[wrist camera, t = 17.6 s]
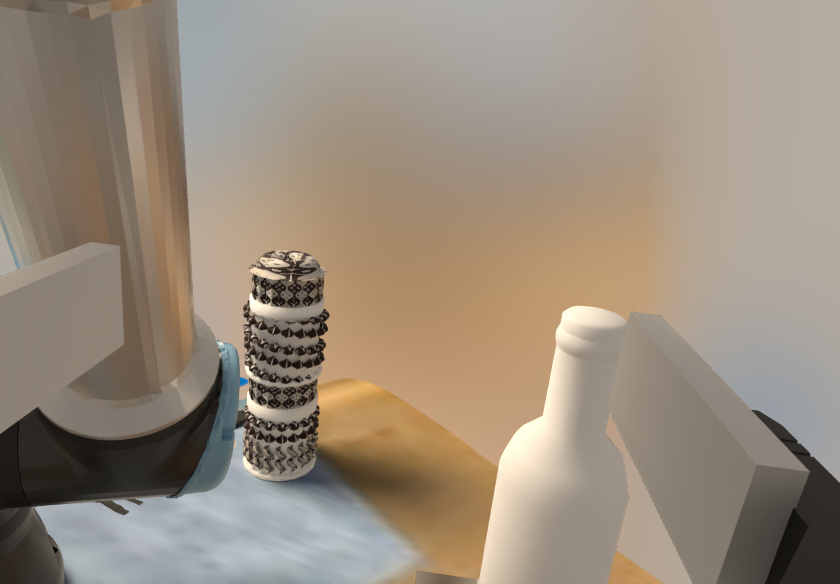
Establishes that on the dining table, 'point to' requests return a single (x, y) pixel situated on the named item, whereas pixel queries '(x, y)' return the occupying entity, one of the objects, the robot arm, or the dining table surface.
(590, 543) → the bottle
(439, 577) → the subfloor panel
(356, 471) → the dining table surface
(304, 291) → the decorative candle
